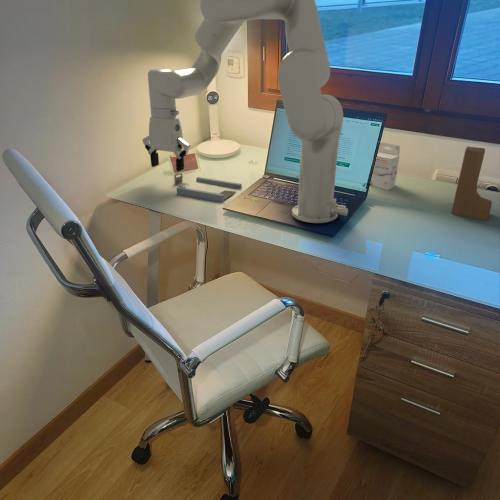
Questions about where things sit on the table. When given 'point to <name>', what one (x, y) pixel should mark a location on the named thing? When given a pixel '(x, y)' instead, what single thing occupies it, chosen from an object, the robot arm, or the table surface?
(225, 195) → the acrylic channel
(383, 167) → the ink cartridge box
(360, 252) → the table surface
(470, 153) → the wooden block
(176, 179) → the strap clip
